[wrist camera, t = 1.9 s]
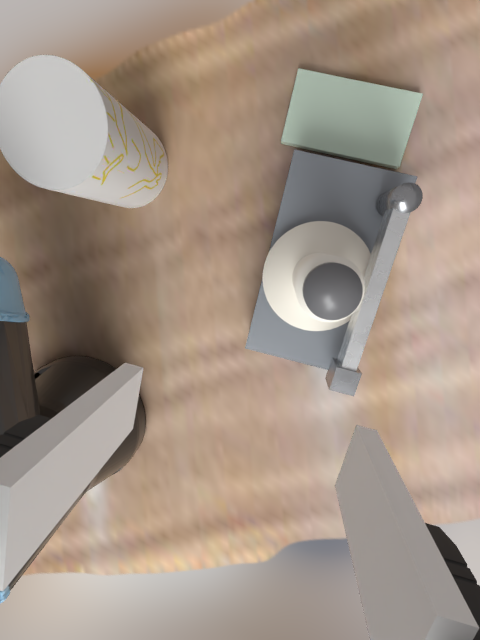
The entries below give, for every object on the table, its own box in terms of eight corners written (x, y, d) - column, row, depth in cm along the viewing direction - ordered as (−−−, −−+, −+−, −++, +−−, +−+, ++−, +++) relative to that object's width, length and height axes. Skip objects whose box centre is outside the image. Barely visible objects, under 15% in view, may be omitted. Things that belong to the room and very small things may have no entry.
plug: (256, 305, 35) (240, 344, 21) (278, 215, 33) (276, 194, 19) (342, 326, 34) (384, 382, 21) (371, 237, 32) (439, 231, 18)
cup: (167, 210, 34) (109, 192, 23) (92, 206, 35) (-1, 187, 24) (168, 122, 32) (105, 55, 21) (89, 120, 33) (-13, 54, 22)
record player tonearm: (323, 371, 31) (329, 389, 27) (380, 188, 27) (397, 179, 23) (344, 377, 31) (353, 396, 27) (405, 194, 27) (426, 185, 23)
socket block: (249, 334, 36) (245, 348, 31) (292, 163, 32) (294, 149, 27) (340, 357, 36) (350, 375, 31) (396, 187, 31) (417, 176, 26)
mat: (281, 143, 32) (281, 141, 31) (297, 72, 30) (298, 68, 29) (396, 169, 31) (399, 167, 30) (419, 97, 30) (423, 93, 29)
